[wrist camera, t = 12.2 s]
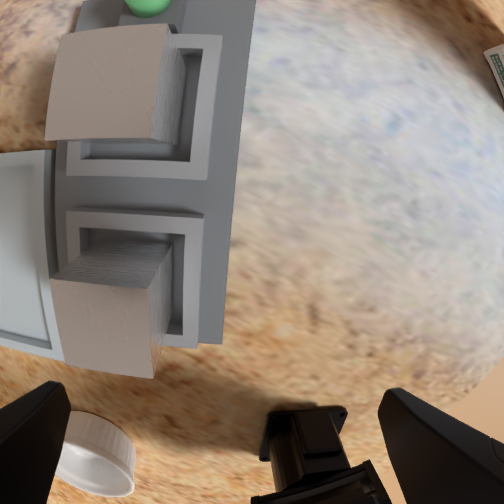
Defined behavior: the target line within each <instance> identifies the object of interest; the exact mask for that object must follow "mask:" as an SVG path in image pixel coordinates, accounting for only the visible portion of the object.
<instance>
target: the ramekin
mask: <svg viewBox="0 0 504 504" xmlns="http://www.w3.org/2000/svg"><path fill="white" fill-rule="evenodd" d="M135 458H136V452H135V447H134V445H133V443H132V441H131V440H130V438H129V437H128V436H127V435H126V434H125V433H124V432H123V431H122V430H121V429H120V428H118V427H117V426H115V425H114V424H112V423H111V422H109V421H107V420H105V419H103V418H101V417H99V416H96V415H93V414H90V413H86V412H81V411H71V412H70V416H69V421H68V425H67V429H66V434H65V438H64V443H63V448H62V452H61V456H60V459H59V463H58V466H57V469H56V472H55V475H56V476H58V477H59V478H60V479H62V480H63V481H65V482H67V483H68V484H70V485H72V486H74V487H76V488H78V489H81V490H83V491H85V492H88V493H91V494H95V495H99V496H105V497H123V496H127V495H129V494H131V493H132V492H133V491H134V488H135V481H134V468H135Z"/></svg>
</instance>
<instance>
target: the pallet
mask: <svg viewBox="0 0 504 504" xmlns="http://www.w3.org/2000/svg"><path fill="white" fill-rule="evenodd" d="M255 5H256V0H171V3H170V5H169V7H168V8H167V9H166V10H165V11H164V12H163V13H161V14H160V15H158V16H155V17H151V18H140V17H137V16H136V15H134V14H133V12H132V11H131V9H130V8H129V6H128V5H127V3H126V2H125V0H87V1H83V3H82V7H81V10H80V14H79V17H78V21H77V24H76V28H75V32H80V31H86V30H93V29H100V28H108V27H117V26H128V25H141V24H164V23H167V24H168V26H169V29H170V31H171V33H172V36H173V38H174V40H175V43H176V45H177V47H178V49H179V52H180V54H181V56H182V59H183V61H184V63H185V66H186V68H187V74H186V81H185V88H184V96H183V104H182V113H181V122H180V132H179V142H178V145H163V144H98V143H83V142H64V141H57V149H56V169H55V220H56V241H57V254H58V265H59V271H60V270H61V269H62V268H63V267H65V266H66V265H67V264H68V263H70V262H71V261H72V260H74V259H75V258H76V257H78V256H79V255H80V254H81V253H83V252H84V251H85V250H87V249H88V248H89V247H91V246H92V245H93V244H95V243H96V242H97V241H99V240H100V239H102V238H112V239H127V240H142V241H156V242H171V243H173V287H172V306H173V311H172V315H171V318H170V321H169V325H168V328H167V332H166V335H165V339H164V342H163V346H171V347H182V348H194V349H197V346H198V343H206V344H222V338H223V324H224V310H225V297H226V284H227V271H228V259H229V247H230V236H231V224H232V213H233V202H234V191H235V181H236V171H237V161H238V151H239V141H240V131H241V122H242V113H243V104H244V95H245V86H246V77H247V69H248V60H249V52H250V44H251V36H252V28H253V20H254V12H255Z"/></svg>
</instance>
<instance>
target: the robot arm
mask: <svg viewBox="0 0 504 504" xmlns="http://www.w3.org/2000/svg"><path fill="white" fill-rule="evenodd" d="M70 412H71V405H70V402H69V399H68V396H67V393H66V390H65V388H64V385H63V384H62V383H60V382H55V381H48V382H46V383H44V384H42V385H41V386H39V387H37V388H36V389H34V390H32V391H30V392H29V393H27V394H25V395H24V396H22V397H20V398H18V399H17V400H15V401H13V402H12V403H10V404H8V405H6V406H5V407H3V408H1V409H0V504H46V503H47V499H48V496H49V492H50V489H51V485H52V482H53V479H54V475H55V472H56V469H57V466H58V463H59V459H60V456H61V452H62V448H63V443H64V438H65V434H66V429H67V425H68V421H69V416H70ZM347 415H348V412H347V410H346V408H331V409H317V410H299V411H273V412H270V413H268V415H267V418H266V423H265V428H264V433H263V438H262V442H261V447H260V452H259V460H260V461H262V462H269V461H271V466H272V472H273V478H274V484H275V489H276V493H272V494H267V495H263V496H259V495H258V496H254V497H251V504H392V502H391V500H390V498H389V496H388V494H387V492H386V490H385V488H384V486H383V484H382V482H381V480H380V478H379V476H378V474H377V472H376V470H375V469H374V467H373V465H372V463H371V461H370V459H369V460H367V461H364V462H362V464H360V465H358V466H355V467H353V468H351V466H350V464H349V461H348V459H347V456H346V454H345V451H344V449H343V445H342V442H341V440H340V437H339V433H340V431H341V429H342V427H343V424H344V422H345V419H346V417H347ZM273 417H274V418H273ZM378 418H379V422H380V426H381V429H382V433H383V437H384V440H385V444H386V448H387V452H388V455H389V458H390V461H391V464H392V466H393V469H394V471H395V474H396V476H397V479H398V482H399V484H400V487H401V490H402V492H403V495H404V497H405V500H406V503H407V504H504V444H503V443H501V442H499V441H497V440H495V439H494V438H490V437H489V436H488V435H486V434H484V433H482V432H480V431H478V430H476V429H474V428H472V427H470V426H469V425H467V424H465V423H463V422H461V421H459V420H457V419H455V418H454V417H452V416H450V415H448V414H446V413H445V412H443V411H441V410H439V409H437V408H436V407H434V406H432V405H430V404H428V403H427V402H425V401H423V400H421V399H419V398H418V397H416V396H414V395H412V394H411V393H409V392H407V391H405V390H404V389H402V388H398V387H397V388H392V389H388V390H386V392H385V393H384V396H383V398H382V401H381V404H380V406H379V409H378Z"/></svg>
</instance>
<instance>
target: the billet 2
mask: <svg viewBox="0 0 504 504" xmlns="http://www.w3.org/2000/svg"><path fill="white" fill-rule="evenodd" d="M50 286H51V293H52V300H53V306H54V312H55V317H56V323H57V328H58V332H59V337H60V342H61V346H62V350H63V355H64V359H65V363H66V365H69V366H74V367H79V368H84V369H90V370H95V371H101V372H107V373H113V374H120V375H126V376H134V377H141V378H149V379H153V378H154V374H155V371H156V367H157V363H158V360H159V356H160V353H161V349H162V346H163V342H164V339H165V335H166V332H167V328H168V325H169V321H170V318H171V315H172V311H173V306H172V287H173V243H171V242H156V241H142V240H127V239H112V238H102V239H100V240H99V241H97V242H96V243H95V244H93V245H92V246H91V247H89V248H88V249H87V250H85V251H84V252H83V253H81V254H80V255H79V256H78V257H76V258H75V259H74V260H72V261H71V262H70V263H68V264H67V265H66V266H65V267H63V268H62V269H61V270H60V271H58V272H57V273H56V274H55V275H53V276H52V277H51V278H50Z"/></svg>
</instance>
